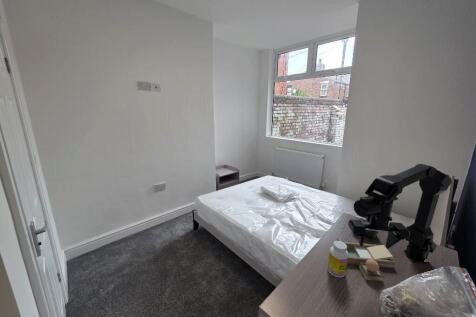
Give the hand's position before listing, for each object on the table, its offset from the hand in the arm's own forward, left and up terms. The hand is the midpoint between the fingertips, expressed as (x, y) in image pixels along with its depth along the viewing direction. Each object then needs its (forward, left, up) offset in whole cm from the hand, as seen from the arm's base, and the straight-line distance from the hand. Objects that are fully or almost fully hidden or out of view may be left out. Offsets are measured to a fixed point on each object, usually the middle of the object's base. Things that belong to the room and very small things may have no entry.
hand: (373, 247), depth 77 cm
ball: (0, +1, -8) cm, 8 cm away
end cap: (-9, -25, -12) cm, 30 cm away
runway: (-2, -9, -12) cm, 15 cm away
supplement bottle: (+13, +1, -12) cm, 18 cm away
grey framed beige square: (0, +1, -12) cm, 12 cm away
